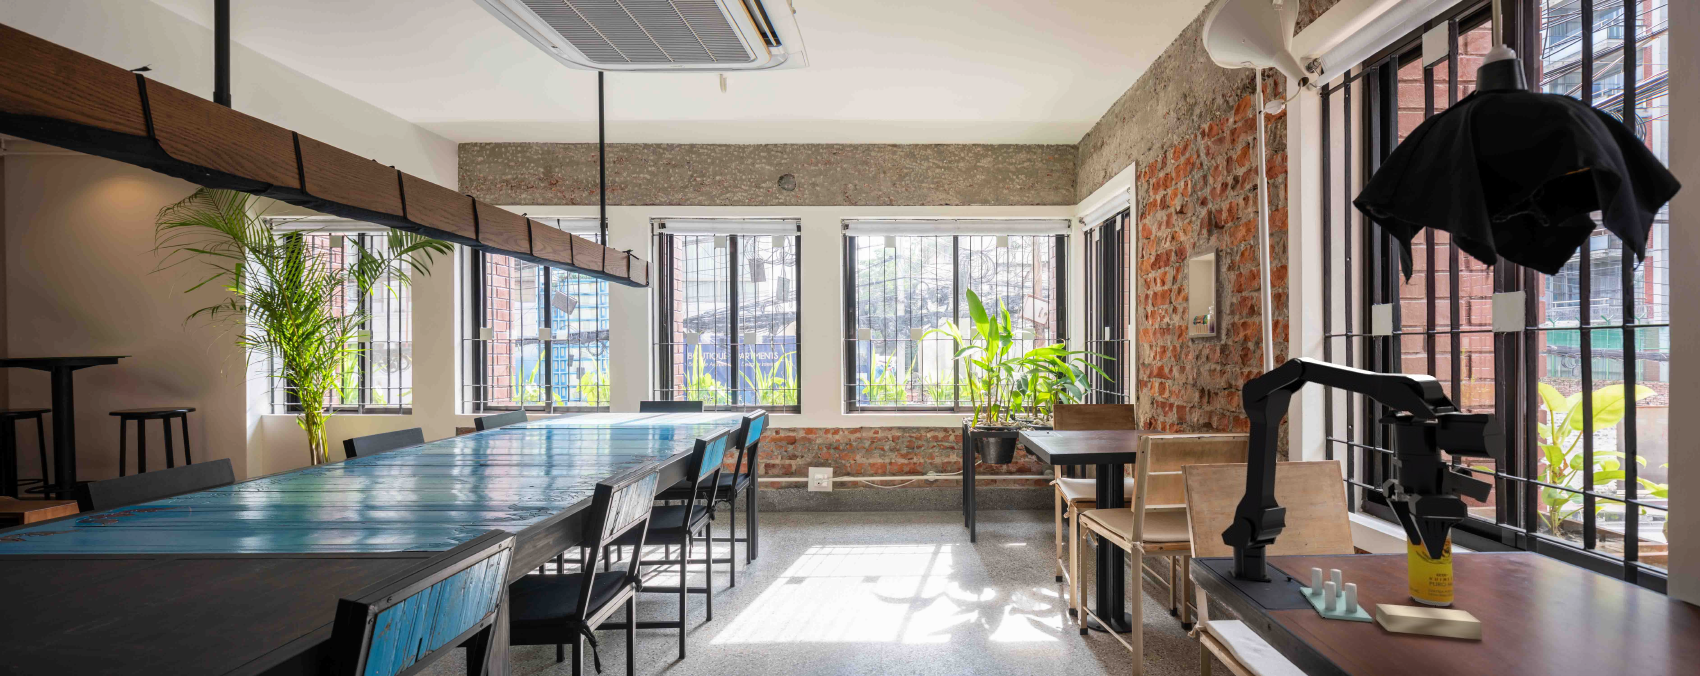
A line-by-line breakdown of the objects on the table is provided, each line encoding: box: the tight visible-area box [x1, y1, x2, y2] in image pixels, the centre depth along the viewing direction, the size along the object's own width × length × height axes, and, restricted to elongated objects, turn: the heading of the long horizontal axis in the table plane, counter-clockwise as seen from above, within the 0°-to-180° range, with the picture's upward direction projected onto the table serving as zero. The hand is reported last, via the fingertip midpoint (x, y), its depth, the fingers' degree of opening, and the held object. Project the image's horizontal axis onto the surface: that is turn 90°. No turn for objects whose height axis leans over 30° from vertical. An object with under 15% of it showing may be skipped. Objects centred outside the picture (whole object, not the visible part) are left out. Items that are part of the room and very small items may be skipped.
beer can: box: [1406, 527, 1454, 607], centre depth 124 cm, size 6×6×15 cm
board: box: [1375, 603, 1483, 640], centre depth 112 cm, size 12×5×3 cm, turn 70°
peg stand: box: [1299, 567, 1373, 623], centre depth 123 cm, size 14×7×5 cm, turn 160°
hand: (1425, 551), depth 112 cm, fingers open, 9 cm apart
